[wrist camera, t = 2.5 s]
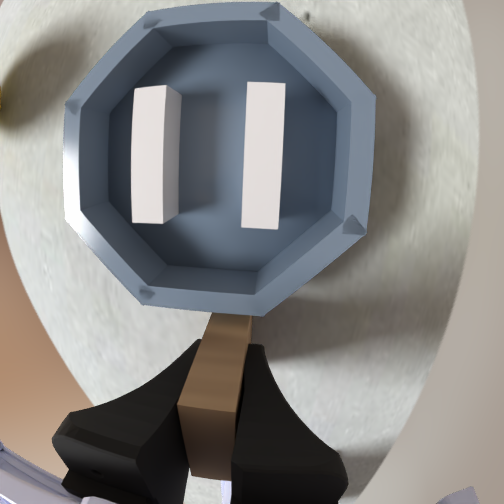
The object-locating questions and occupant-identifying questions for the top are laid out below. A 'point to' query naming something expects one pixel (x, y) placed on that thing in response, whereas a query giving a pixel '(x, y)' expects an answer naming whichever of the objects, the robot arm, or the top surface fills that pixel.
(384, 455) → the top surface
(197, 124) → the octagonal blue tray
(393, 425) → the top surface
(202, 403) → the brown wooden plank
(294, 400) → the top surface
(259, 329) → the top surface
